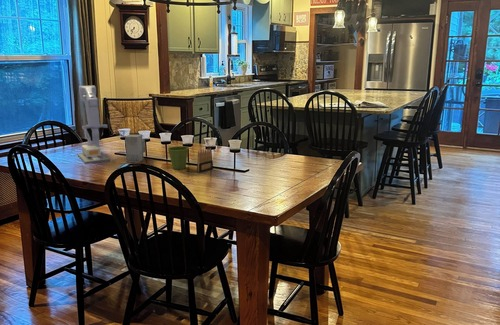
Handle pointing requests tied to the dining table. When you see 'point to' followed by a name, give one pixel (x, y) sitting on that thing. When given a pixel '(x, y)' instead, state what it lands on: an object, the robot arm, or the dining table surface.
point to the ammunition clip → (204, 161)
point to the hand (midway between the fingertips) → (96, 140)
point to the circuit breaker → (134, 148)
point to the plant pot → (178, 156)
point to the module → (93, 152)
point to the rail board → (91, 159)
